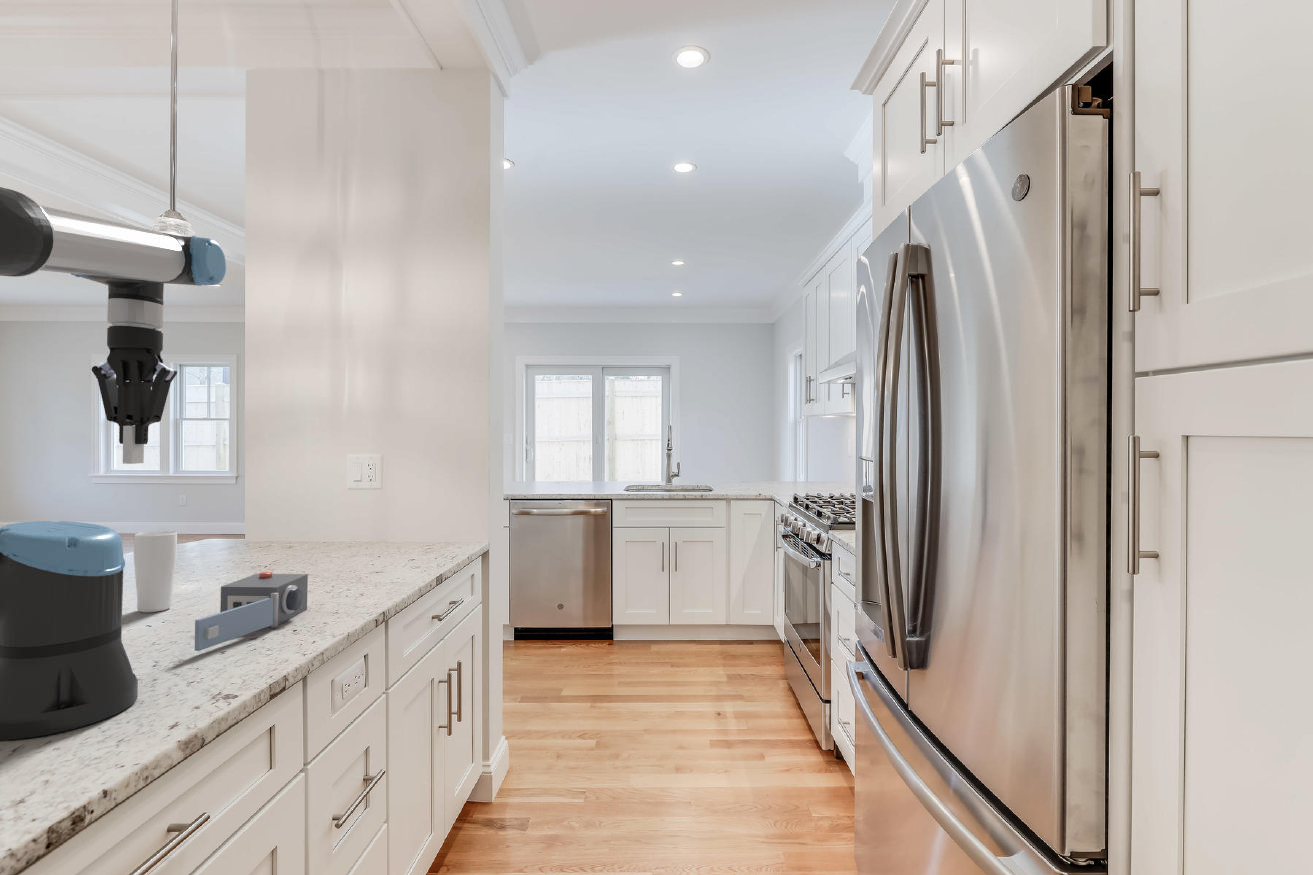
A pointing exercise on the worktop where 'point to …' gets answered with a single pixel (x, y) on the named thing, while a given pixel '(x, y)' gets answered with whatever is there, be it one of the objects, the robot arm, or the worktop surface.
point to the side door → (236, 622)
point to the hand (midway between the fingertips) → (133, 463)
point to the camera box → (268, 592)
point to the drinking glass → (155, 569)
